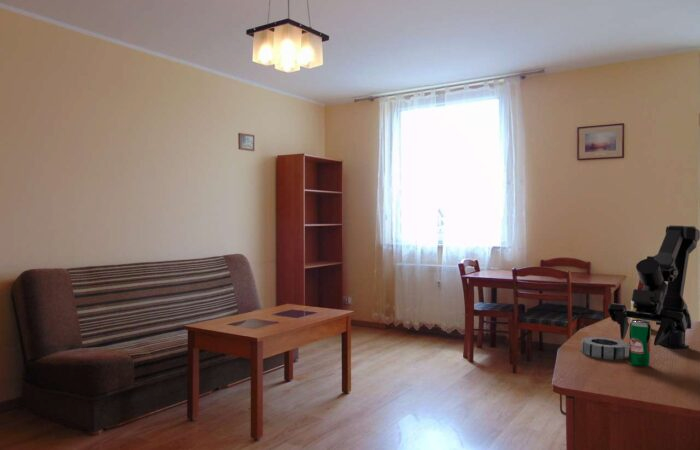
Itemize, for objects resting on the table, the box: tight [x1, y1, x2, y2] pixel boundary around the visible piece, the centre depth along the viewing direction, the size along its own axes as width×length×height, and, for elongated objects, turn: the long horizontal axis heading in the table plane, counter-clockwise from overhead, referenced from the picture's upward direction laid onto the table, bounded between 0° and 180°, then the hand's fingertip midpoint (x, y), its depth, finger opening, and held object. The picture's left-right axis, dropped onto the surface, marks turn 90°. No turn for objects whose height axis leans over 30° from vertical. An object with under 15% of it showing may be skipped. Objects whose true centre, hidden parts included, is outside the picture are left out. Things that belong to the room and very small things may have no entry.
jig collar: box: [580, 336, 629, 361], centre depth 153 cm, size 12×12×4 cm
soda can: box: [628, 320, 652, 368], centre depth 142 cm, size 5×5×12 cm
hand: (638, 341), depth 141 cm, fingers open, 8 cm apart
